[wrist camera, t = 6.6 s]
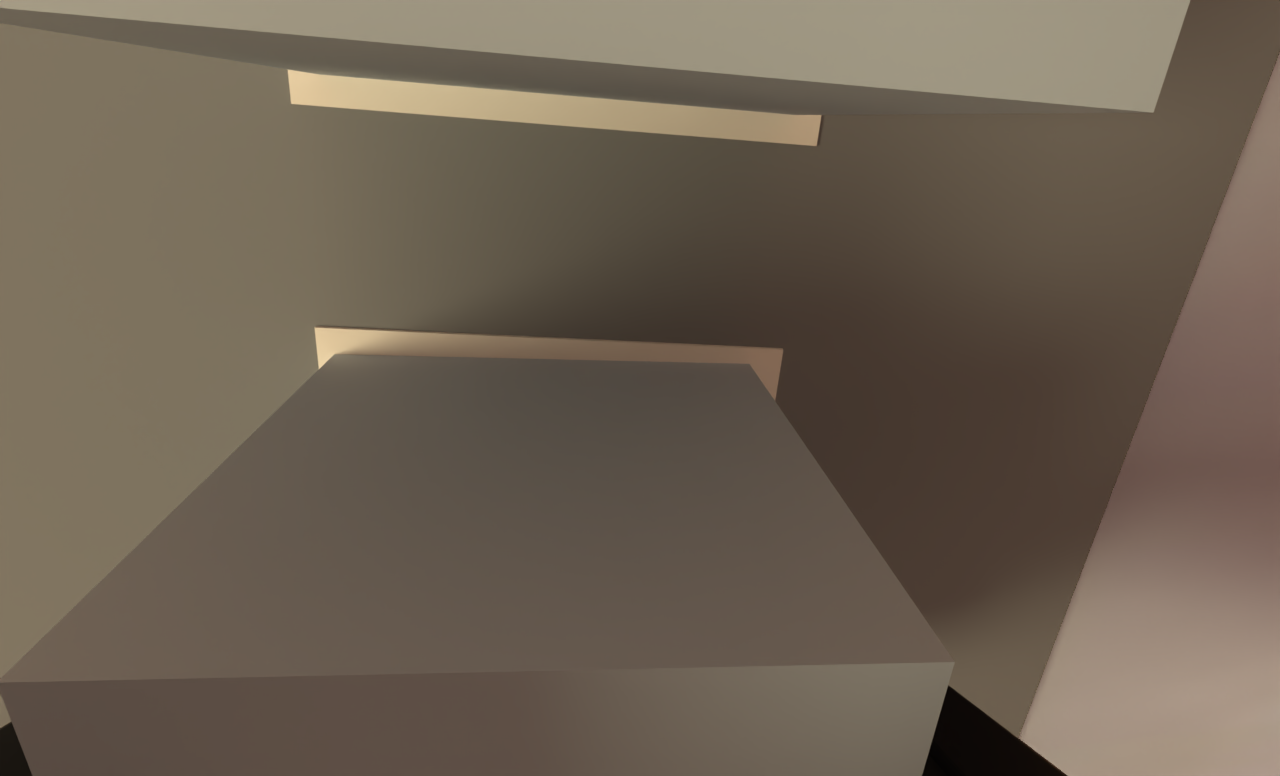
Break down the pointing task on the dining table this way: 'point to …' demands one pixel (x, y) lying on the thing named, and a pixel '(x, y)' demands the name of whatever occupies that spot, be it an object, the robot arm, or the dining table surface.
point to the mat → (605, 291)
